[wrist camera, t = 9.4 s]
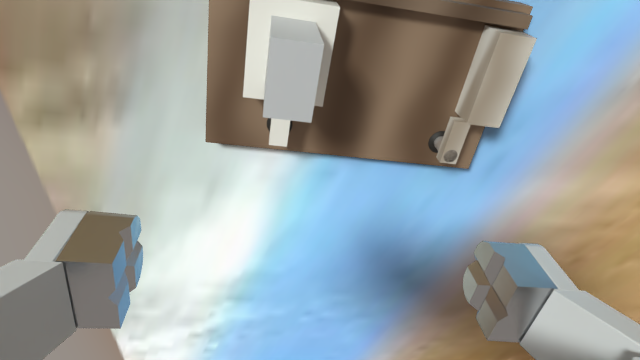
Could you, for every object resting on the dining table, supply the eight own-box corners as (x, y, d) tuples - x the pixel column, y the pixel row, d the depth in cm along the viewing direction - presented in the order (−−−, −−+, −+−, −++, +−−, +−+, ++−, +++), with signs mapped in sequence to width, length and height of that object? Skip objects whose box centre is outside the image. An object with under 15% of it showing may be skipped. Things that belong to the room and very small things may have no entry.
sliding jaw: (335, 0, 25) (354, 26, 19) (312, 136, 30) (322, 190, 24) (251, -13, 24) (244, 9, 18) (241, 128, 29) (233, 183, 23)
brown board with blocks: (521, 2, 28) (552, 13, 25) (460, 159, 34) (479, 183, 31) (213, -52, 25) (204, -47, 22) (208, 132, 31) (200, 157, 28)
